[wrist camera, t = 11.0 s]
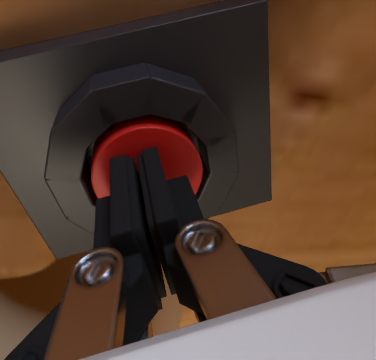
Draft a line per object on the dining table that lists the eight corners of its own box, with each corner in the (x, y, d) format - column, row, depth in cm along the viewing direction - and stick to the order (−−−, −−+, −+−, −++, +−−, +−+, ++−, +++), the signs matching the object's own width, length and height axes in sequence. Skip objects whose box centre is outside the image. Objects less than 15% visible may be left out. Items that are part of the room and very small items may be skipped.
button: (183, 96, 12) (193, 113, 10) (199, 181, 14) (209, 205, 13) (76, 122, 11) (72, 144, 10) (111, 205, 14) (111, 232, 12)
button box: (244, -5, 12) (293, 4, 9) (255, 176, 18) (288, 223, 14) (-36, 58, 12) (-92, 93, 8) (61, 229, 17) (50, 291, 14)
